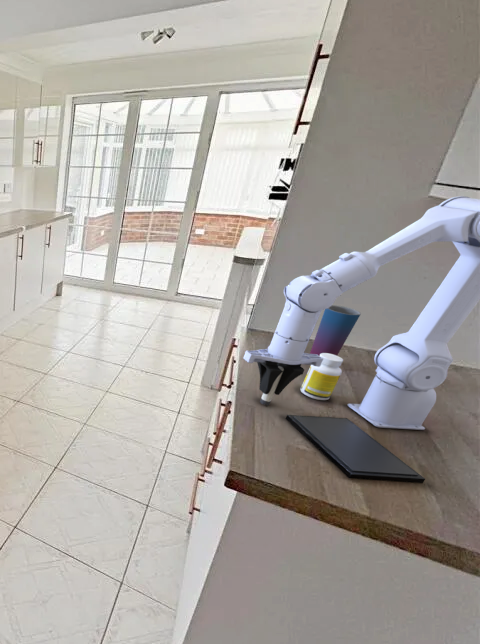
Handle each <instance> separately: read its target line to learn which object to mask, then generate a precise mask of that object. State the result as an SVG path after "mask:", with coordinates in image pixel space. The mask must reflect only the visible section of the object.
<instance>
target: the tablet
mask: <svg viewBox="0 0 480 644" xmlns="http://www.w3.org/2000/svg"><path fill="white" fill-rule="evenodd" d="M285 420H286V421H287V422H288V423H289V424H290V425H292V426H293V427H294V428H295V429H296V430H297V431H298V432H299V433H300V434H301V435H302V436H303V437H304V438H306V439H307V440H308V441H309V442H310V443H311V444H312V445H313V447H315V448H316V449H317V450H318V451H319V452H320V453H322V454H323V455H324V456H325V457H326V458H327V460H329V461H330V462H331V463H332V464H333V465H334V466H335V467H337V469H339V471H341V472H342V473H343V475H345V476H346V477H347V478H348V479H352V480H365V481H367V480H368V481H381V482H382V481H383V482H396V483H397V482H398V483H413V484H424V483H425V481H426V478H425V477H424V476H423V475H422V474H420V473H419V472H417V471H416V470H415V469H413V468H412V467H411V466H409V465H408V464H407V463H406V462H405V461H403V460H402V459H400V458H399V457H398V456H396V455H395V454H394V453H393V452H392V451H390V450H389V449H387V448H386V447H385V446H383V444H381V443H380V442H379V441H377V440H375V438H373V437H372V436H371V435H370V434H368V433H367V432H365V431H364V430H363V429H361V427H359V426H358V425H356V424H355V423H354V422H353V421H351V420H350V419H349V418H347V417H332V416H315V415H300V414H286V416H285Z"/></svg>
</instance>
